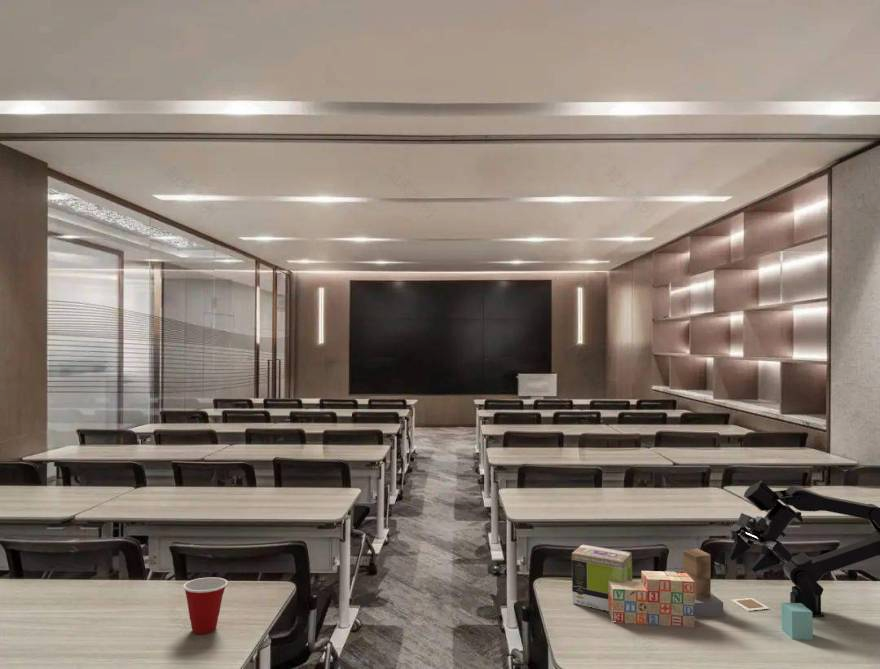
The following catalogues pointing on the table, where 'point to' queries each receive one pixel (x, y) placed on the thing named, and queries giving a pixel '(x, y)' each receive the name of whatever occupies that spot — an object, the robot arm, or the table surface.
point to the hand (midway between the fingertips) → (741, 564)
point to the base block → (708, 606)
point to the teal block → (797, 621)
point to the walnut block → (698, 571)
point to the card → (750, 604)
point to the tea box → (597, 574)
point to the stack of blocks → (653, 599)
